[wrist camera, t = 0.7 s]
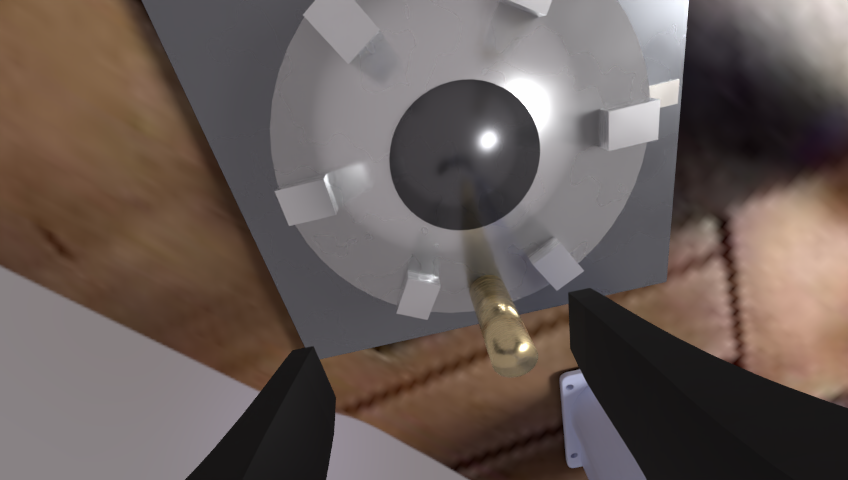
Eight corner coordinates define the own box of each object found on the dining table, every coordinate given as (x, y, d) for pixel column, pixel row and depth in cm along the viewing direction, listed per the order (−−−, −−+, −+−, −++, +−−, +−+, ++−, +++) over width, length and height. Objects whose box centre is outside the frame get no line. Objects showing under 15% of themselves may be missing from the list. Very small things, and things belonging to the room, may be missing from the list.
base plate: (655, 272, 22) (667, 282, 21) (314, 348, 22) (311, 362, 22) (686, -223, 13) (710, -245, 12) (120, -75, 14) (100, -85, 13)
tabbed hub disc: (613, 248, 20) (714, 337, 14) (346, 308, 20) (327, 422, 14) (616, -100, 13) (804, -225, 7) (227, -2, 14) (97, -43, 8)
